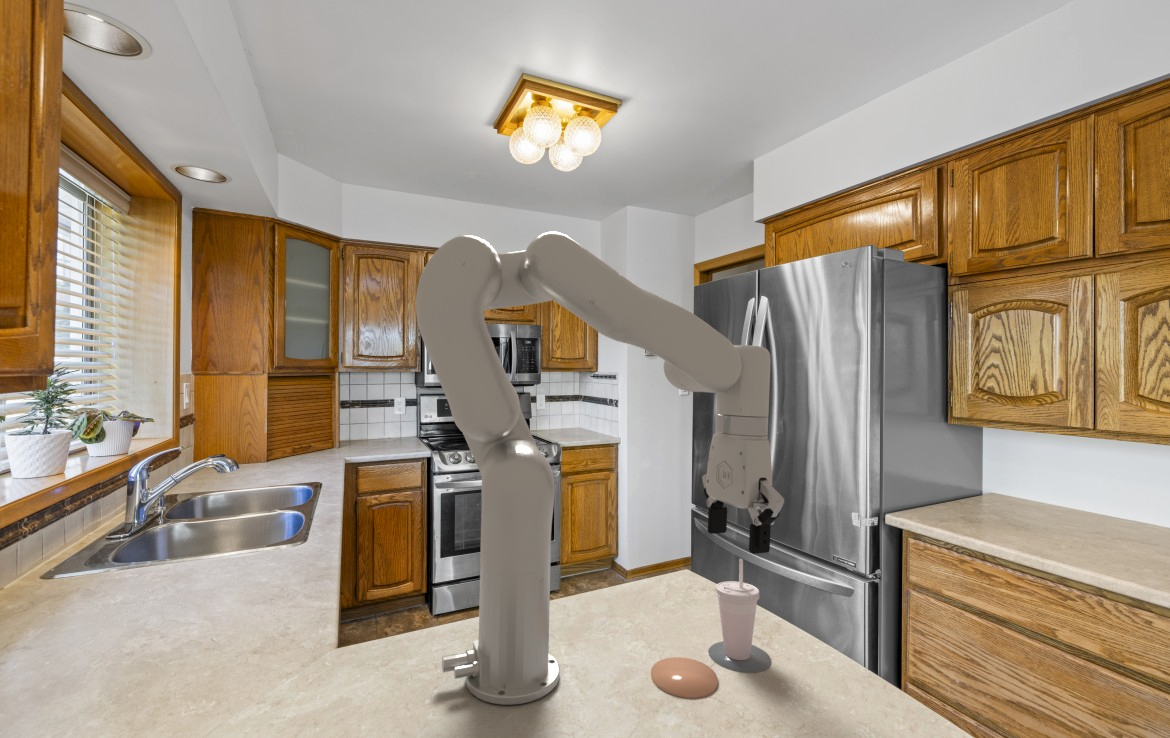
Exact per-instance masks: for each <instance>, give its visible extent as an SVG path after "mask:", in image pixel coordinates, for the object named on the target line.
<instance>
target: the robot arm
mask: <svg viewBox="0 0 1170 738" xmlns="http://www.w3.org/2000/svg"><path fill="white" fill-rule="evenodd" d="M551 301H554V302H555V303H557V304H558V305H560V307H563V308H564V309H566V310H567V311H568V312H570V313H571V314H573V315H574V316H576V317H577V318H578V319H580V320H581V321H583V322H584V323H585V324H587V325H588V326H590V327H591V328H592V329H594V330H595V331H597V333H599V334H601V335H603V336H604V337H606V338H609V339H611V340H613V341H616V342H619V343H622V344H623V343H624V344H627V345H631V346H634V347H637V348H640V349H642V350H644V351H647V352H650V353H652V354H653V355H655V356H657V357H659V358H660V359H662V360H664V362H663V372H664V376H665V378H666V380H667V382H669V383H670V384H671V385H672V386H673V387H675V388H677V389H678V390H681V391H685V392H690V393H691V392H692V393H710V394H711V393H712V394H713V393H714V394H715V393H717V395H716V396H717V397H716V417H715V418H716V419H715V433H713V435H712V439H711V442H710V446H709V453H708V460H707V469H706V473H704V474H703V475H702V477H701V479H702V480H701V481H702V485H703V488H704V490H703V493H704V495H705V498H706V506H707V507H708V510H707V511H708V512H707V513H708V517H707V533H709V534H711V535H714V534H715V535H716V534H725V533H727V528H728V527H727V525H728V507H727V506H725V505H726V504H727V505H729V506H732V507H735V508H737V509H738V508H739V509H741V510H742V509H743V510H745V509H747V511H748V514H749V516H750V518H751V520H752V522H753V523H749V538H748V541H749V542H748V551H749V553H750V554H753V555H755V554H763V553H764V554H765V553H767V554H768V553H769V552H770V551H771V530H772V529H771V528H772V527H771V526H772V525H773V526H774V524H775V521H776V519H778V518H779V516H780V511H781V510H782V509H783V506H784V504H785V498H784V496H782V495H781V494H780V493H779V492H778V491H777V490H776V488H774V487H773V469H772V468H773V467H772V466H773V465H772V453H771V445H770V441H769V439H768V435H769V434H768V432H769V413H770V411H769V409H770V385H771V383H770V382H771V359H772V358H771V353H770V351H769V350H768V348H766V347H764V346H758V345H750V344H749V345H745V344H743V345H742V344H733V343H732V342H731V340H729V339H728V338H727V337H726V336H725V335H723V334H722V333H721V332H719V331H718V330H717V329H715V328H714V327H712V326H711V325H710V324H709V323H707V322H706V321H704V320H703V319H702V318H700V317H698V316H697V315H695V314H694V313H693V312H691V311H689V310H687V309H685V308H683V307H682V306H680V305H678V304H675V303H673V302H671V301H669V300H666V299H664V298H663V297H660V296H659V295H656V294H655V293H652V292H650V291H648V290H645V289H642V288H641V287H639V286H638V285H636V284H635V283H633V282H632V281H631V280H629V279H627V278H626V277H624V275H622V274H621V273H619V272H618V271H617V270H615V269H614V268H612V267H611V266H610V265H608V264H607V263H605V261H603V260H602V259H600V258H599V257H598V256H596V255H595V254H593V253H592V252H591V251H589V250H588V249H586V248H585V247H584V246H583V245H581V244H580V243H579V242H577V241H575V240H574V239H573V238H571V237H570V236H568V235H567V234H564V233H561V232H558V231H548V232H544V233H542V234H540V235H538V236H537V237H535V238H534V239H533V240H532V241H531V242H530V244H529V245H528V246H527V247H526V249H525V250H519V251H512V252H502V253H497V251H496V250H495V248H494V247H493V246H492V245H490V243H489V242H488V241H486V240H485V239H482V238H480V237H478V236H475V235H468V234H467V235H465V234H464V235H458V236H455V237H453V238H451V239H449V240H447V241H446V242H444V243H443V244H442V245H441V246H440V247H439V248H438V249H436V251H435V252H434V253H433V254H432V256H431V257H430V258H429V260H428V261H427V262H426V265H425V266H424V269H423V270H422V273H421V275H420V278H419V281H418V285H417V290H416V298H415V312H416V320H417V325H418V329H419V332H420V336H421V338H422V339H421V340H422V342H423V344H424V347H425V348H426V352H427V353H428V356H429V359H430V361H431V363H432V366H433V369H434V371H435V375H436V376H437V379H438V381H439V383H440V385H441V388H442V391H443V393H444V396H445V397H446V400H447V403H448V406H449V408H450V413H451V417H452V419H453V421H454V423H455V425H456V426H457V427H456V428H458V429H459V431H460V432H462V434H463V437H464V439H465V441H466V443H467V445H468V448H469V450H470V453H471V454H472V457H473V459H474V462H475V463H476V466H477V468H478V471H479V472H480V475H481V510H480V511H481V515H480V517H481V518H480V519H481V521H480V548H479V549H480V552H479V553H480V558H479V560H480V561H479V565H480V566H479V567H480V568H479V604H478V605H479V606H478V607H479V608H478V609H479V610H478V639H475V640H473V641H472V648H469V649H466V650H465V652H462V653H458V654H457V653H453V654H448V655H447V654H446V655H442V657H441V669H442V673H444V674H445V673H449V672H453V677H454V679H455V680H456V679H462V678H465V685H466V687H467V689H468V691H469V692H470V693H471V694H472V695H474V696H475V697H476V698H477V699H480V700H482V701H484V702H486V703H489V704H495V705H502V706H505V705H507V706H508V705H509V706H513V705H522V704H526V703H530V702H533V701H535V700H538V699H541V698H543V697H545V696H546V695H548V694H549V693H551V692H552V691H553V690H554V688H556V686H557V684H558V683H559V680H560V672H561V671H560V664H559V662H558V660H557V659H556V658H555V657H554V656H553V655H552V654H550V653H549V650H550V649H549V648H550V647H549V645H550V640H549V639H550V607H551V606H550V603H551V601H550V598H551V597H550V595H551V594H550V593H551V591H550V590H551V554H552V553H551V551H552V549H551V548H552V546H551V545H552V526H553V525H552V524H553V517H554V515H553V514H554V504H555V491H556V487H555V477H554V473H553V470H552V467H551V464H550V462H549V460H548V459H547V458H546V457H545V455H544V454H543V452H541V451H540V449H539V447H538V445H537V444H536V441H535V439H534V437H533V435H532V433H531V430H530V428H529V425H528V423H527V420H526V418H525V416H524V413H523V411H522V409H521V406H520V405H521V402H520V399H519V398H520V397H519V395H518V392H517V390H516V388H515V387H514V385H513V384H512V383H511V381H510V378H509V376H508V375H507V372H506V370H505V369H504V366H503V364H502V362H501V359H500V357H499V354H498V352H497V350H496V347H495V344H494V341H493V340H492V337H491V334H490V332H489V330H488V326H487V324H486V320H485V315H484V311H491V310H497V309H505V308H513V307H522V306H529V305H536V304H541V303H545V302H546V303H547V302H551ZM759 510H760V511H761V513H759Z"/></svg>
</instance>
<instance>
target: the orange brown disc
mask: <svg viewBox="0 0 1170 738" xmlns="http://www.w3.org/2000/svg"><path fill="white" fill-rule="evenodd" d="M650 678H651V681H652V680H653V681H652V682H653V684H654V683H655V684H656V685H655V684H654V685H655V686H656V687H657V686H658V687H657V688H659V689H660V690H661V689H662V690H661V691H663V692H665V693H667V694H669V695H672V696H676V697H681V698H684V699H685V698H688V699H694V698H695V699H697V698H703V697H706V696H708V695H711V694H712V693H713V692H715V690H716V689H717V687H718V680H719V679H718V676H717V674H716V672H715V671H714V669H712V668H711V667H710V666H709V665H707V664H705V663H703V662H701V661H699V660H695V659H693V658H687V657H681V656H680V657H679V656H678V657H677V656H675V657H667V658H663V659H660V660H658V661H657V662H655V663H654V664H653V665H652V666H651V670H650Z"/></svg>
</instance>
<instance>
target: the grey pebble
mask: <svg viewBox="0 0 1170 738" xmlns="http://www.w3.org/2000/svg"><path fill="white" fill-rule="evenodd" d="M707 653H708V657H709V658H710V659H711V660H712V662H714V663H715V664H717V665H718V666H720V667H722V668H724V669H726V670H730V671H733V672H737V673H743V674H756V673H757V674H758V673H762V672H765V671H767V670H768V669H770V667H771V665H772V658H771V656H770V655H769V654H768V653H767V652H766V651H765V650H764V649H762V648H760V647H758V646H756V645H754V644H752V646H751V654H750V658H749V659H746V660H736V659H732V658H730V657H728V656H727V655H726V654H725V651H724V643H723V641H719V642H715V643H714V644H712V645H710V647H709V648H708V651H707Z"/></svg>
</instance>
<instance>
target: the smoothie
mask: <svg viewBox="0 0 1170 738" xmlns="http://www.w3.org/2000/svg"><path fill="white" fill-rule="evenodd" d="M738 563H739V564H738V571H739V572H738V581H736V580H735V581H734V580H732V581H731V580H727V581H721V582H718V583H717V584H716V585H715V595H716V596H717V598H718V600H717V601H718V608H719V616H720V624H721V633H722V638H723V639H722V642H723V643H724V651H725V654H726V655H727V656H728V657H730V658H732V659H736V660H746V659H749V658H750V654H751V646H752V645H753V635H754V627H755V621H756V620H755V619H756V613H757V602H758V601H759V599H760V590H759V588H757V587H756V586H754V585H753V584H749V583H747V582H744V559H743V558H738Z"/></svg>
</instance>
